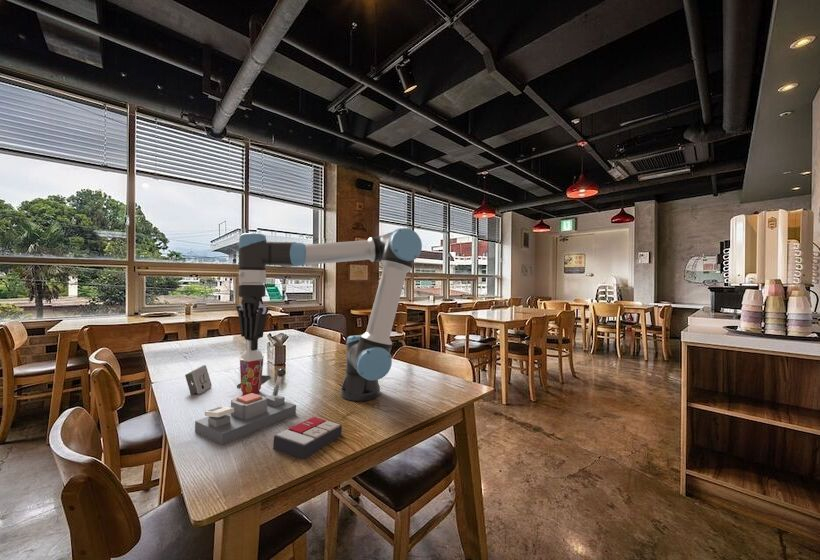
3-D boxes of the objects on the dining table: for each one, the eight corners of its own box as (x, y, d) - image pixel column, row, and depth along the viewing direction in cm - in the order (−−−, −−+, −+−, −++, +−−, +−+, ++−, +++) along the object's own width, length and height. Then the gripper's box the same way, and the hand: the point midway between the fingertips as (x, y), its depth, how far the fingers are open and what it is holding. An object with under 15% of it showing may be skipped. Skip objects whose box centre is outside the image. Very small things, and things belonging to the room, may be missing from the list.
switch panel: (268, 404, 114) (269, 384, 114) (295, 414, 107) (296, 392, 107) (194, 431, 93) (195, 407, 93) (222, 445, 86) (223, 418, 86)
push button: (251, 405, 104) (252, 393, 104) (261, 409, 101) (261, 396, 101) (236, 410, 99) (236, 397, 99) (246, 414, 97) (246, 401, 97)
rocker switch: (220, 410, 96) (220, 406, 96) (234, 411, 93) (233, 407, 93) (204, 415, 92) (204, 411, 92) (218, 417, 89) (218, 412, 89)
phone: (235, 386, 131) (254, 375, 146) (235, 388, 131) (254, 377, 146) (255, 386, 130) (271, 375, 145) (255, 389, 130) (271, 378, 145)
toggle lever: (275, 392, 110) (283, 366, 108) (280, 396, 108) (288, 370, 107) (268, 394, 107) (276, 368, 106) (273, 399, 106) (281, 372, 104)
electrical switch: (200, 395, 122) (198, 370, 122) (185, 396, 121) (183, 372, 121) (212, 387, 131) (210, 364, 131) (198, 388, 130) (196, 365, 130)
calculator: (342, 423, 94) (304, 443, 80) (341, 438, 94) (303, 461, 80) (313, 415, 99) (273, 433, 85) (312, 429, 98) (272, 449, 85)
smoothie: (267, 389, 129) (268, 339, 129) (255, 397, 121) (256, 343, 121) (247, 388, 130) (248, 338, 130) (233, 396, 122) (235, 342, 122)
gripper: (228, 283, 100) (227, 360, 100) (253, 284, 94) (253, 366, 94) (250, 283, 107) (250, 355, 107) (276, 284, 100) (275, 360, 100)
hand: (251, 360), depth 100 cm, fingers closed
